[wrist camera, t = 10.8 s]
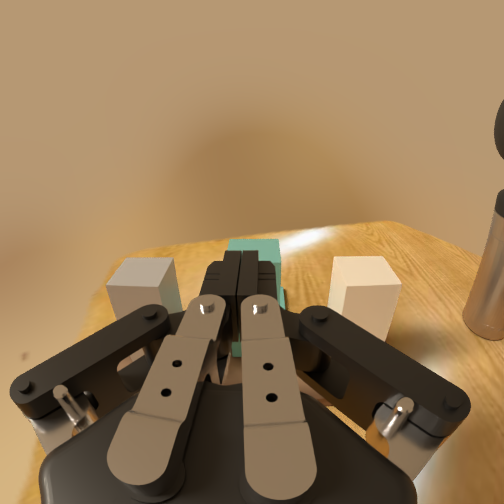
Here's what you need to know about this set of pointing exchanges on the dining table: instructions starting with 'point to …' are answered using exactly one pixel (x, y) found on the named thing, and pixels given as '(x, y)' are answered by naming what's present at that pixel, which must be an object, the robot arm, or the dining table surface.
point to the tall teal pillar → (266, 253)
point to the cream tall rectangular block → (365, 292)
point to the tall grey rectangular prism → (144, 287)
